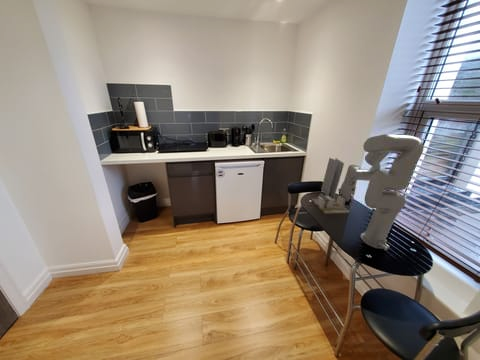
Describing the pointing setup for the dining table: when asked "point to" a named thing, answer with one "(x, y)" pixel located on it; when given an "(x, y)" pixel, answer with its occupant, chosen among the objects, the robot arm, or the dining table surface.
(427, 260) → the dining table surface
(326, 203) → the ticket pad
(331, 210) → the ticket board
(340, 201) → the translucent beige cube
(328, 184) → the brochure
